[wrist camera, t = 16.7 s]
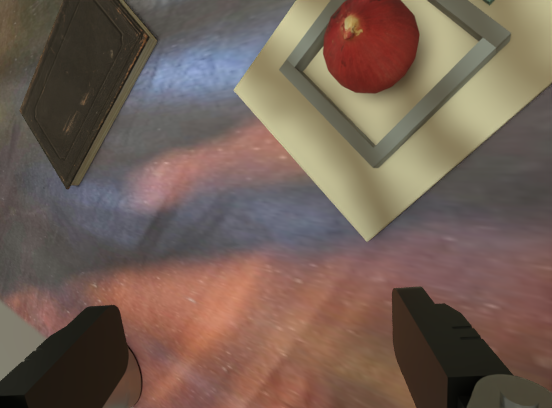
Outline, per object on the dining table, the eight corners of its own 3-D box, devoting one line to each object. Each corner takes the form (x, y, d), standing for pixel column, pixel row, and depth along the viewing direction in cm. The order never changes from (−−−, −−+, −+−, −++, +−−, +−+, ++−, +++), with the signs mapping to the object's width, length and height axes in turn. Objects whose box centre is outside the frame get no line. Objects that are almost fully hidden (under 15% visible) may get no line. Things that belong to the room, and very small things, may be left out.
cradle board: (370, 239, 28) (361, 245, 26) (240, 92, 34) (223, 86, 32) (631, 15, 20) (648, -4, 18) (402, -136, 25) (393, -164, 23)
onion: (331, 61, 28) (279, 26, 21) (392, -1, 25) (356, -64, 18) (376, 118, 27) (336, 99, 20) (445, 58, 24) (428, 13, 17)
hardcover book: (164, 43, 39) (147, 36, 37) (83, 188, 49) (66, 189, 47) (96, -37, 44) (78, -47, 42) (35, 110, 53) (17, 108, 51)
